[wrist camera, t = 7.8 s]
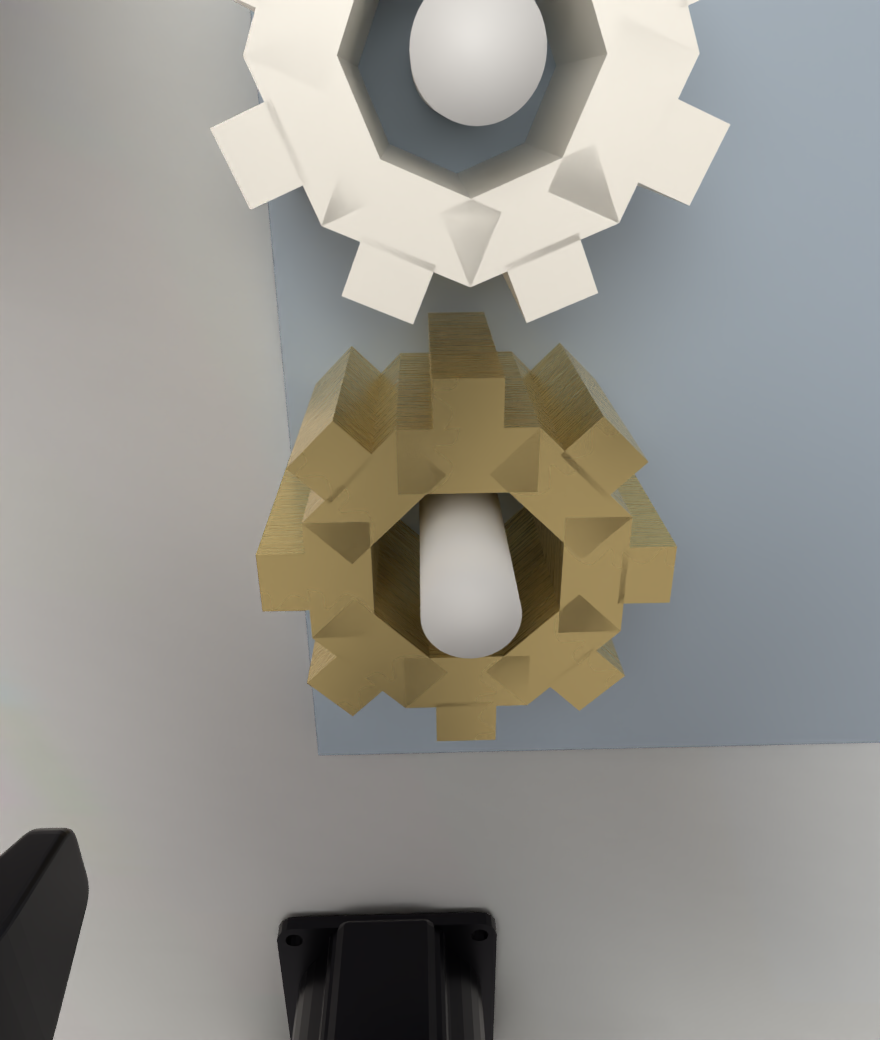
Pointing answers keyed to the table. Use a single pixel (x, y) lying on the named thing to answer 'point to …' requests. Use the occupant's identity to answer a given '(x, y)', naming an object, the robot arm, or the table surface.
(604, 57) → the cream gear
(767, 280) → the gear board
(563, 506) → the brass gear
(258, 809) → the table surface
